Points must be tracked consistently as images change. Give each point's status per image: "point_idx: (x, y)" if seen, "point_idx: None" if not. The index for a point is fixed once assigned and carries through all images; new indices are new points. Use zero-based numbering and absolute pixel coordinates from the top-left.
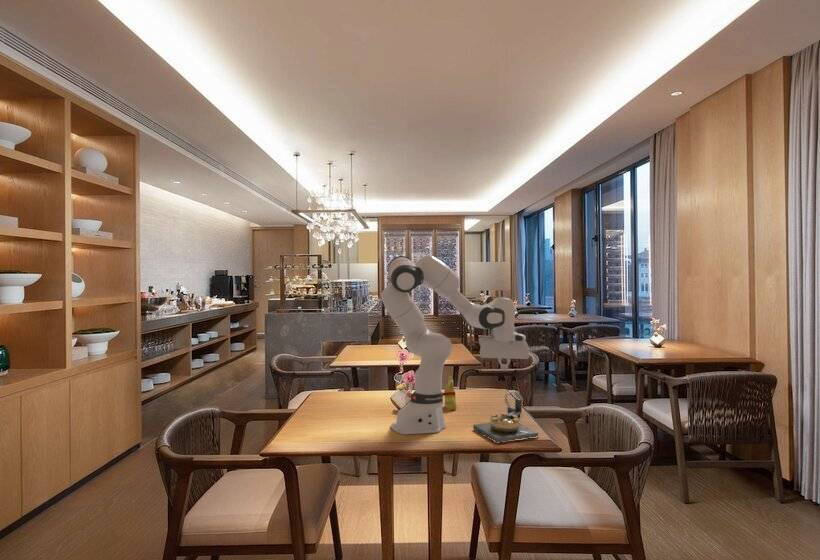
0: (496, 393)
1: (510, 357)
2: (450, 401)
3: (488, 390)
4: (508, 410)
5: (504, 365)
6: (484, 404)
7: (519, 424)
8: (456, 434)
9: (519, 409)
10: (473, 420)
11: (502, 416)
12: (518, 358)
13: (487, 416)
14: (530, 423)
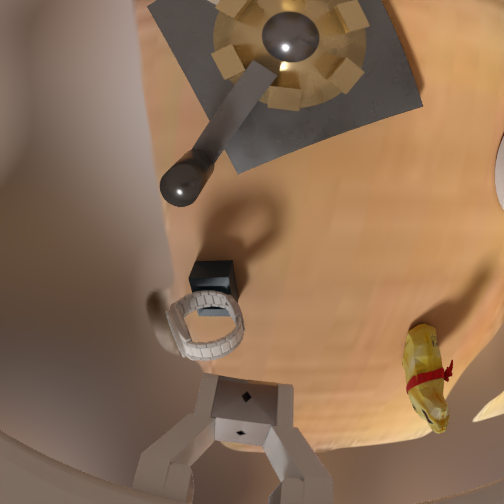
0: None
1: (119, 502)
2: (433, 346)
3: None
4: (234, 296)
5: (240, 417)
6: (299, 376)
7: (209, 104)
8: (477, 59)
9: (189, 153)
10: (388, 222)
11: (295, 88)
12: (14, 443)
13: (321, 269)
14: None
